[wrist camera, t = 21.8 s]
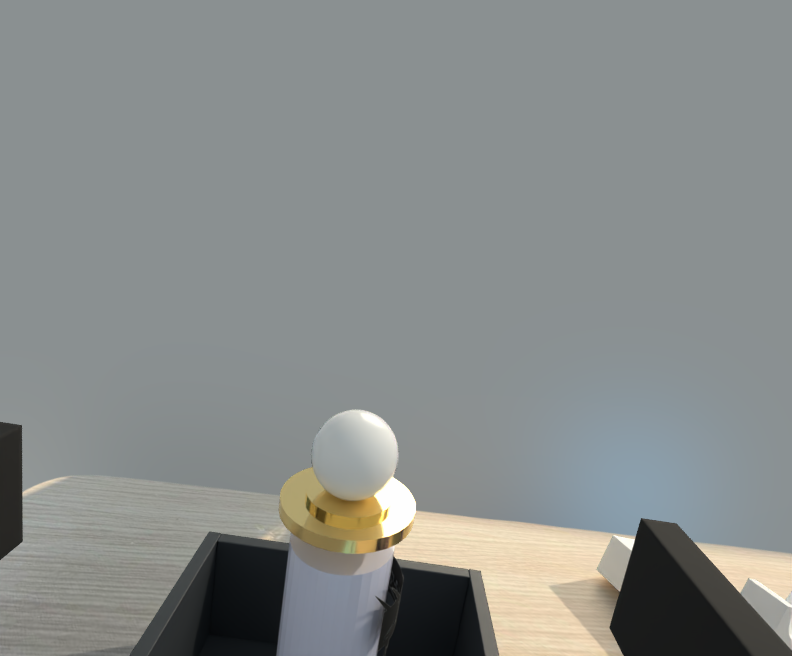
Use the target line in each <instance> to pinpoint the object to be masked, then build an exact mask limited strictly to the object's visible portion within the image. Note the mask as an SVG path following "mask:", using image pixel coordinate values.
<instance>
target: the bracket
mask: <svg viewBox="0 0 792 656" xmlns="http://www.w3.org/2000/svg"><path fill="white" fill-rule="evenodd" d="M634 541H635V540H634V539H629V538H624V537H619V536H614V535H613V536H612V538H611V540H610V543H609V545H608V547H607V549H606V551H605V553H604V555H603V557H602V559H601V561H600V563H599V565H598V567H597V569H596V570H598V571H599V572H600V573H601V574H602V575H603V576H604V577H605V578H606V579H607V580H608V581H609V582H610V583H611V584H612V585H613V586H614V587H615V588H616V589H617V590H618V591H619V592H620V590H621V586H622V583H623V579H624V576H625V572H626V569H627V566H628V562H629V559H630V555H631V552H632V548H633V545H634ZM740 594H741V595H742V596H743V597H744V598H745V599H746V601H747V602H748V603H749V604H750V605H751V606H752V607H753V608H754V609H755V610H756V612H757V613H758V614H759V615H760V616H761V617H762V618H763V619H764V620H765V621H766V623H767V624H768V625H769V626H770V627H771V628H772V629H773V630H774V631H775V632H776V634H777V635H778V636H779V637H780V638H781V639H782V640H783V641H784V642H785V643H786V645H787V646H788V647H789V648H790V649H791V650H792V592H791V593H790V595H789V596H788V597H787V598H786V600H784V599H783V598H781V597H780V596H778V595H777V594H775V593H774V592H773V591H771V590H770V589H768V588H767V587H765V586H764V585H763V584H761V583H760V582H758V581H757V580H755V579H749V578H748V580H747V582H746V584H745V586H744V588H743V589H742V591H741V593H740Z"/></svg>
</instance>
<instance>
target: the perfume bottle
mask: <svg viewBox="0 0 792 656" xmlns="http://www.w3.org/2000/svg"><path fill="white" fill-rule="evenodd" d="M398 452H399V451H398V444H397V441H396V438H395V436H394V433H393V431H392V430H391V428H390V427H389V426H388V424H387V423H386V422H385V421H384V420H383V419H382V418H380V417H379V416H377V415H375V414H373V413H371V412H368V411H364V410H348V411H344V412H341V413H339V414H337V415H335V416H333V417H331V418H330V419H329V420H328V421H327V422H326V423H325V424H323V426H322V427H321V428H320V430H319V431H318V433H317V435H316V437H315V439H314V442H313V445H312V450H311V454H312V455H311V463H312V467H311V468H308V469H305V470H303V471H300V472H298V473H296V474H295V475H293V476H292V477H290V478H289V479H288V480H287V481H286V482H285V483H284V485H283V487H282V489H281V493H280V502H279V514H280V518H281V520H282V522H283V524H284V525H285V527H286V528H287V529H288V530H289V531H290V532H291V534H290V542H289V550H288V559H287V567H286V576H285V584H284V593H283V601H282V609H281V618H280V626H279V635H278V643H277V652H276V656H377V651H379V650H380V649H381V648H382V647H383V646H384V645H385V651H384V655H383V656H386V648H388V646H387V644H389V639H390V637H391V636H392V634H393V632H394V628H395V625H396V621H397V615H398V614H397V613H398V610H397V609H399V604H400V601H399V600H400V598H401V592H402V586H403V581H404V576H403V575H402V571H401V567H400V566H399V564H398V562H397V560H396V558H395V557H394V556H393V555H394V549H395V545H396V544H398V543H399V542H400V541H402V540H403V539H404V538H406V536H407V535H408V534H409V532H410V531H411V529H412V526H413V523H414V518H415V512H416V507H415V506H416V505H415V501H414V498H413V496H412V495H411V493H410V492H409V490H408V489H407V488H406V487H405V486H404V485H403V484H402V483H400V482H399V481H397V480H396V479H394V478H393V475H394V473H395V471H396V467H397V464H398ZM391 571H392V572H393V574H392V572H391ZM390 573H391V578H390ZM393 576H394V581H393ZM396 581H397V583H398V584H397V590H396V586H395V585H394V584H396ZM390 582H391V584H390ZM389 585H390V587H391V588H390V587H389ZM391 589H392V590H391ZM399 589H400V594H399ZM387 591H388V592H389V593H390V595H391V597H392V599H393V601H394V604H393V605H392V606H391V607H390V606H389V605H388V604H387V603H386V597H387ZM397 591H398V592H397ZM392 592H393V593H392ZM393 594H394V595H393ZM394 597H395V598H394ZM395 599H396V600H395ZM384 609H386V611H385V612H384ZM395 617H396V618H395ZM394 620H396V621H394ZM394 622H395V623H394ZM393 623H394V624H393ZM392 625H393V626H392ZM391 626H392V627H391ZM390 628H392V629H390ZM388 631H389V632H388ZM390 631H391V632H390ZM387 632H388V633H387ZM389 633H390V634H389ZM386 634H387V635H386ZM385 635H386V637H385ZM388 635H389V636H388ZM384 637H385V639H386V638H387V639H386V640H385V641H383V640H384Z"/></svg>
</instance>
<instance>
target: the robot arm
mask: <svg viewBox="0 0 792 656" xmlns="http://www.w3.org/2000/svg"><path fill="white" fill-rule="evenodd" d="M22 541H23V532H22V425H17V424H10V423H3V422H0V560H1V559H2V558H3V557H4V556H6V555H7V554H8V553H9V552H10V551H12V550H13V549H14V548H15V547H16V546H18V545H19V544H20V543H21V542H22ZM610 630H611V632H612V634H613V635H614V637H615V639H616V641H617V643H618V645H619V647H620V649H621V651H622V653H623V655H624V656H792V650H791V649H790V648H789V647H788V646H787V645H786V643H785V642H784V641H783V640H782V639H781V638H780V637H779V636H778V635H777V634H776V632H775V631H774V630H773V629H772V628H771V627H770V626H769V625H768V624H767V623H766V621H765V620H764V619H763V618H762V617H761V616H760V615H759V614H758V613H757V612H756V610H755V609H754V608H753V607H752V606H751V605H750V604H749V603H748V602H747V601H746V599H745V598H744V597H743V596H742V595H741V594H740V593H739V592H738V591H737V589H736V588H735V587H734V586H733V585H732V584H731V583H730V582H729V581H728V580H727V578H726V577H725V576H724V575H723V574H722V573H721V572H720V571H719V570H718V569H717V567H716V566H715V565H714V564H713V563H712V562H711V561H710V560H709V559H708V558H707V556H706V555H705V554H704V553H703V552H702V551H701V550H700V549H699V548H698V547H697V545H696V544H695V543H694V542H693V541H692V540H691V539H690V538H689V537H688V536H687V534H685V532H684V531H683V530H682V529H681V528H680V527H679V526H678V525H677V524H675V523H669V522H662V521H656V520H649V519H642V518H641V521H640V524H639V528H638V531H637V534H636V538H635V541H634V545H633V548H632V552H631V555H630V559H629V562H628V566H627V569H626V572H625V576H624V579H623V583H622V586H621V590H620V593H619V597H618V600H617V604H616V607H615V611H614V614H613V618H612V621H611V624H610Z"/></svg>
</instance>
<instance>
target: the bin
mask: <svg viewBox="0 0 792 656" xmlns="http://www.w3.org/2000/svg"><path fill="white" fill-rule="evenodd" d="M288 550H289V543H283V542H276V541H269V540H262V539H256V538H249V537H242V536H235V535H228V534H221V533H216V532H209V533H208V534H207V536H206V537H205V539H204V541H203V542H202V544H201V545H200V547H199V548H198V550H197V551H196V553H195V555H194V556H193V558H192V559H191V561H190V562H189V564H188V565H187V567H186V569H185V570H184V572H183V573H182V575H181V576H180V578H179V579H178V581H177V583H176V584H175V586H174V587H173V589H172V590H171V592H170V593H169V595H168V597H167V598H166V600H165V601H164V603H163V604H162V606H161V607H160V609H159V611H158V612H157V614H156V615H155V617H154V618H153V620H152V621H151V623H150V625H149V626H148V628H147V629H146V631H145V632H144V634H143V635H142V637H141V639H140V640H139V642H138V643H137V645H136V646H135V648H134V649H133V651H132V653H131V654H130V656H276V652H277V643H278V635H279V626H280V618H281V609H282V601H283V593H284V584H285V576H286V567H287V559H288ZM396 560H397V562H398V564H399V566H400V567H401V571H402V575H403V576H404V581H403V586H402V592H401V598H400V600H399V601H400V604H399V609H397V610H398V613H397V614H398V615H397V621H396V620H394V621H396V625H395V628H394V632H393V634H392V636H391V637H390V639H389V644H387V646H388V648H386V656H499V653H498V648H497V643H496V639H495V634H494V630H493V625H492V621H491V616H490V612H489V607H488V603H487V598H486V593H485V589H484V584H483V580H482V575H481V571H477V570H471V569H469V570H468V569H463V568H456V567H449V566H442V565H435V564H428V563H421V562H414V561H408V560H401V559H396ZM391 572H392V571H391ZM392 574H393V572H392ZM390 578H391V573H390ZM393 581H394V576H393ZM390 584H391V582H390ZM397 584H398V583H397V581H396V584H394V585H395V586H396V590H397ZM389 587H390V585H389ZM390 588H391V587H390ZM391 590H392V589H391ZM397 592H398V591H397ZM392 593H393V592H392ZM399 594H400V589H399ZM393 595H394V594H393ZM394 598H395V597H394ZM395 600H396V599H395ZM386 603H387V604H388V605H389V606H390V607H391V606H392V605H393V604H394V601H393V599H392V597H391V595H390V593H389V592H388V591H387V597H386ZM385 611H386V609H384V612H385ZM395 618H396V617H395ZM394 623H395V622H394ZM394 623H393V624H394ZM392 626H393V625H392ZM392 626H391V627H392ZM390 629H392V628H390ZM388 632H389V631H388ZM388 632H387V633H388ZM390 632H391V631H390ZM389 634H390V633H389ZM386 635H387V634H386ZM386 635H385V637H386ZM388 636H389V635H388ZM385 637H384V640H383V641H385V640H386V639H387V638H386V639H385ZM384 651H385V645H384V646H383V647H382V648H381V649H380V650H379V651H377V656H383V655H384Z"/></svg>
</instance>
